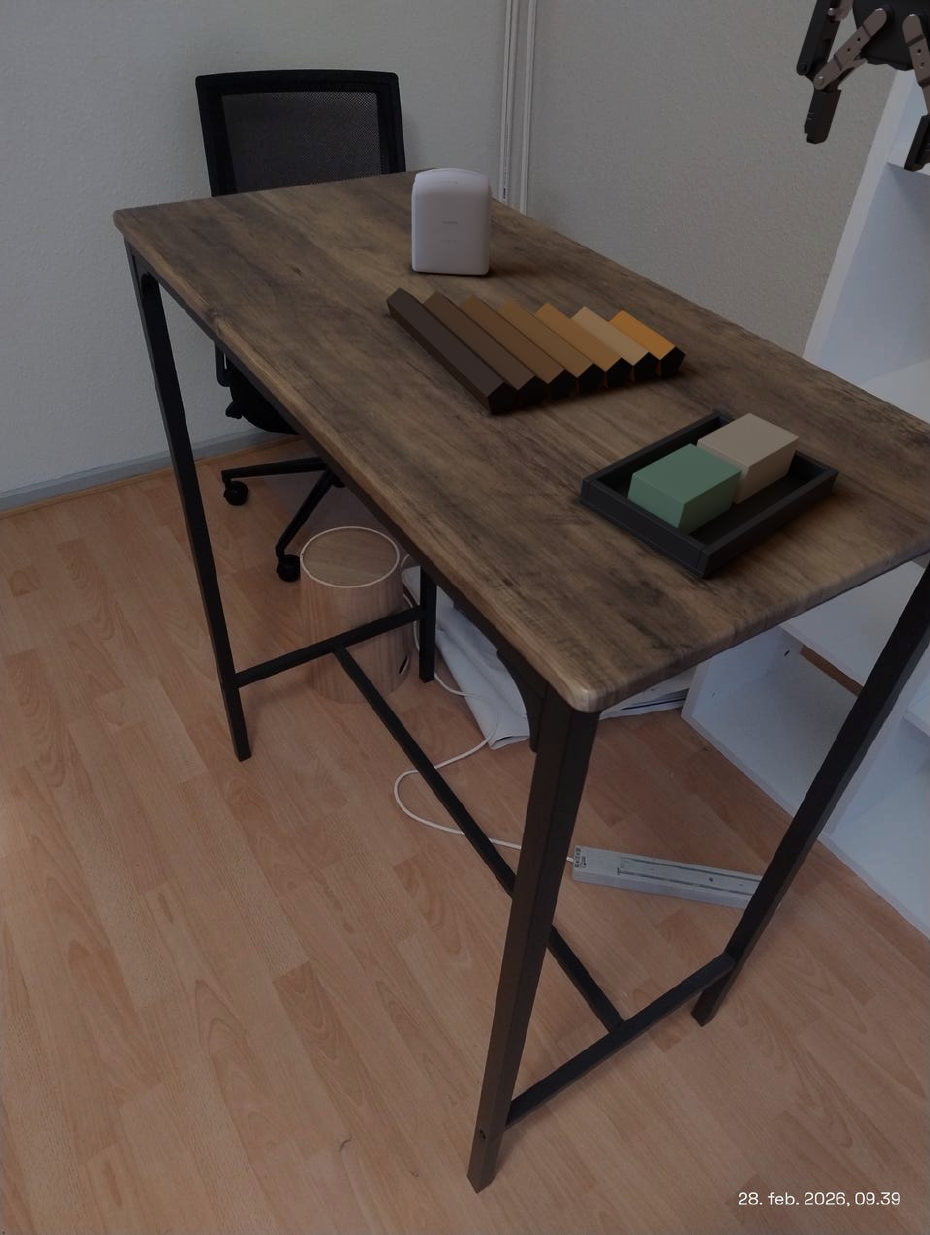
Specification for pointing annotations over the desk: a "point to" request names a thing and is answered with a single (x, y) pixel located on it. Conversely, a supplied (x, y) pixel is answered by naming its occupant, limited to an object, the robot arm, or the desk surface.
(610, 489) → the tray
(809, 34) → the robot arm
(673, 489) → the sage pad
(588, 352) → the pan flute
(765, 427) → the beige pad
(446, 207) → the photo printer
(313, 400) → the desk surface
